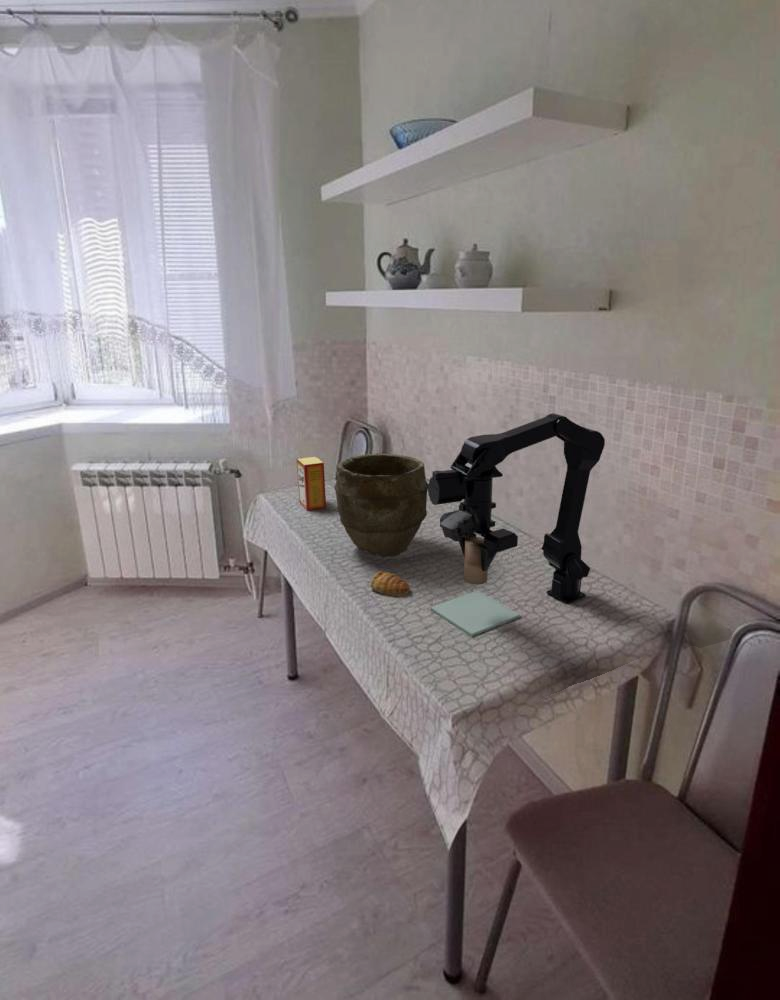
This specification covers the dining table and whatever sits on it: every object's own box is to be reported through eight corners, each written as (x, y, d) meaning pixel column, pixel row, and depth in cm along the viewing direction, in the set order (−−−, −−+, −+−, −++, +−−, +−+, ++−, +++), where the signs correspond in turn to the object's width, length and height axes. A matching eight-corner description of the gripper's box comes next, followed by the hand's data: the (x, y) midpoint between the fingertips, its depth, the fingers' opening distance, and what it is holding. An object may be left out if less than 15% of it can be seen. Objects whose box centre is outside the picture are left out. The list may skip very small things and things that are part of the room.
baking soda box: (299, 502, 212) (296, 457, 207) (317, 499, 214) (315, 455, 209) (307, 510, 203) (304, 464, 198) (326, 508, 206) (323, 461, 201)
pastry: (415, 589, 149) (415, 575, 147) (400, 601, 143) (400, 586, 142) (382, 580, 154) (382, 566, 152) (367, 591, 148) (367, 577, 147)
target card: (477, 592, 146) (477, 590, 146) (520, 616, 135) (520, 614, 135) (430, 609, 139) (430, 607, 138) (471, 636, 128) (471, 633, 127)
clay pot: (406, 526, 188) (405, 446, 180) (444, 556, 166) (445, 467, 158) (326, 539, 179) (322, 456, 171) (355, 573, 157) (351, 480, 149)
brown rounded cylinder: (476, 572, 137) (477, 535, 134) (492, 580, 133) (493, 542, 131) (459, 578, 135) (460, 540, 132) (474, 586, 131) (475, 547, 128)
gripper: (420, 494, 131) (420, 561, 136) (479, 518, 117) (477, 593, 122) (460, 485, 137) (459, 549, 142) (521, 507, 122) (517, 578, 127)
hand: (476, 566), depth 133 cm, fingers closed on brown rounded cylinder, 5 cm apart
